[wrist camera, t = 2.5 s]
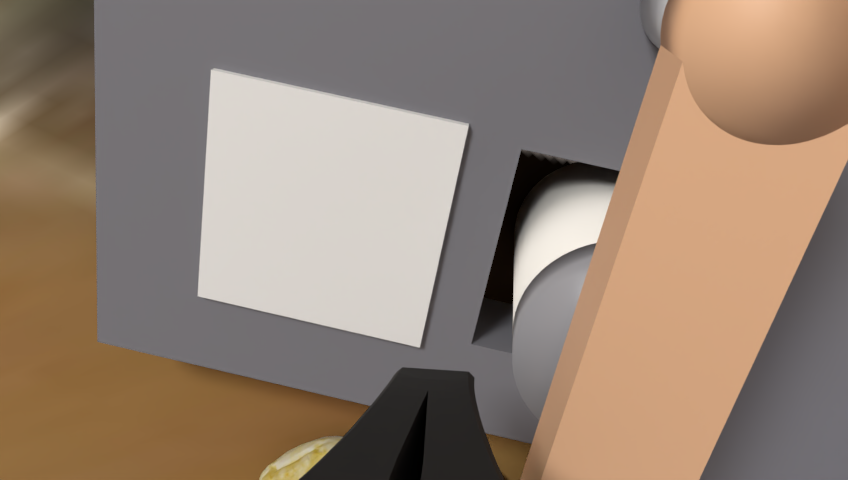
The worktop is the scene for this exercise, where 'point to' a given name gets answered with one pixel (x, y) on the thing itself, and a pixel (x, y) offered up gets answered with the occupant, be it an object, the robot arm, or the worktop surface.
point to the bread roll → (299, 459)
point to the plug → (553, 268)
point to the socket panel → (395, 199)
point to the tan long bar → (698, 237)
